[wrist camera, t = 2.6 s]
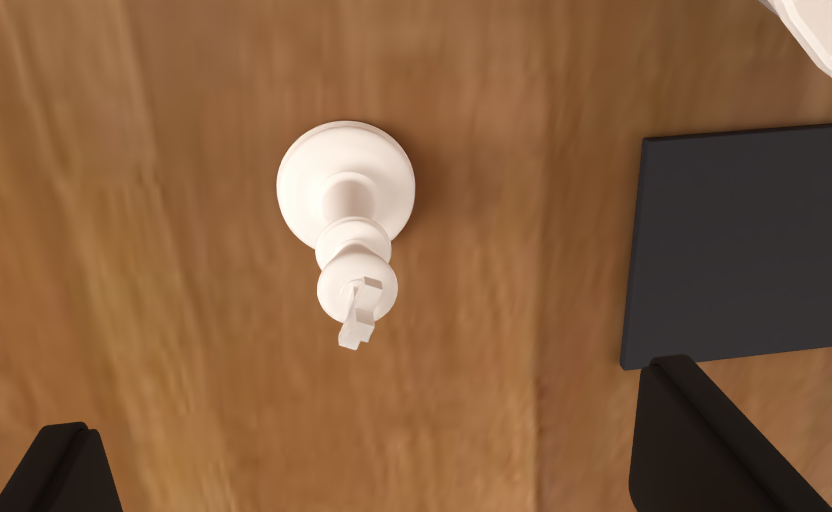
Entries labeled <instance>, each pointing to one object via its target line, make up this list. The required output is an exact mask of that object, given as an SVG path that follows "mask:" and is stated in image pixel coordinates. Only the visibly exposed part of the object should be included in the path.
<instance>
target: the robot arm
mask: <svg viewBox="0 0 832 512" xmlns="http://www.w3.org/2000/svg"><path fill="white" fill-rule="evenodd" d="M629 492H630V496H631V499H632V502H633V504H634V506H635V508H636V510H637V511H638V512H832V508H831V507H830V506H829V505H828V504H827V502H826V501H825V500H824V499H823V498H822V497H821V496H820V495H819V494H818V493H817V492H816V491H815V490H814V489H813V488H812V487H811V485H810V484H809V483H808V482H807V481H806V480H805V479H804V478H803V477H802V476H801V475H800V474H799V473H798V472H797V471H796V469H795V468H794V467H793V466H792V465H791V464H790V463H789V462H788V461H787V460H786V459H785V458H784V457H783V456H782V455H781V454H780V452H779V451H778V450H777V449H776V448H775V447H774V446H773V445H772V444H771V443H770V442H769V441H768V440H767V439H766V438H765V436H764V435H763V434H762V433H761V432H760V431H759V430H758V429H757V428H756V427H755V426H754V425H753V424H752V423H751V422H750V420H749V419H748V418H747V417H746V416H745V415H744V414H743V413H742V412H741V411H740V410H739V409H738V408H737V407H736V406H735V405H734V403H733V402H732V401H731V400H730V399H729V398H728V397H727V396H726V395H725V394H724V393H723V392H722V391H721V390H720V389H719V387H718V386H717V385H716V384H715V383H714V382H713V381H712V380H711V379H710V378H709V377H708V376H707V375H706V374H705V373H704V372H703V370H702V369H701V368H700V367H699V366H698V365H697V364H696V363H695V362H694V361H693V360H692V359H691V358H690V357H689V356H688V355H685V354H679V355H670V356H661V357H654V358H652V359H651V361H650V363H649V366H646V367H643V368H642V370H641V374H640V382H639V392H638V401H637V410H636V419H635V428H634V437H633V447H632V456H631V465H630V474H629ZM0 512H123V510H122V507H121V503H120V500H119V497H118V493H117V490H116V487H115V483H114V480H113V477H112V473H111V470H110V467H109V463H108V460H107V457H106V453H105V450H104V447H103V443H102V440H101V437H100V434H99V432H98V431H97V430H96V429H90V430H89V429H88V427H87V425H86V424H85V423H84V422H73V423H64V424H55V425H47V426H45V427H43V428H42V429H41V430H40V431H39V433H38V435H37V436H36V438H35V439H34V441H33V443H32V444H31V446H30V448H29V449H28V451H27V452H26V454H25V456H24V457H23V459H22V460H21V462H20V464H19V465H18V467H17V468H16V470H15V472H14V473H13V475H12V477H11V478H10V480H9V481H8V483H7V485H6V486H5V488H4V489H3V491H2V493H1V494H0Z"/></svg>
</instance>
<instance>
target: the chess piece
mask: <svg viewBox="0 0 832 512" xmlns="http://www.w3.org/2000/svg"><path fill="white" fill-rule="evenodd" d="M277 197H278V202H279V206H280V209H281V212H282V215H283V217H284V219H285V221H286V223H287V225H288V226H289V228H290V229H291V230H292V232H293V233H294V234H295V235H296V236H297V237H298V238H299V239H300V240H301V241H302V242H304V243H305V244H307V245H308V246H310V247H311V248H313V249H315V253H316V259H317V262H318V265H319V267H320V268H321V270H322V272H321V274H320V277H319V280H318V284H317V294H318V299H319V302H320V304H321V306H322V308H323V309H324V310H325V312H326V313H327V314H328V315H329V316H331V317H332V318H333V319H335V320H337V321H339V322H341V323H344V324H343V326H342V328H341V331H340V333H339V345H340V346H343V347H347V348H350V349H354V350H357V348H358V345H359V343H360V341H364V342H367V343H368V341H369V339H370V336H371V334H372V332H373V330H374V327H375V325H374V321H376V320H378V319H380V318H381V317H383V316H384V315H385V314H386V313H387V312H388V311H389V310H390V309H391V307H392V306H393V304H394V302H395V300H396V297H397V292H398V284H397V279H396V276H395V273H394V271H393V270H392V268H391V267H390V265H389V264H388V263H389V261H390V257H391V243H390V241H392V240H393V239H394V238H395V237H396V236H397V235H398V234H399V233H400V231H401V230H402V229H403V227H404V226H405V224H406V223H407V221H408V219H409V217H410V214H411V212H412V209H413V205H414V199H415V178H414V172H413V169H412V166H411V163H410V161H409V159H408V157H407V155H406V153H405V152H404V150H403V149H402V147H401V146H400V145H399V144H398V143H397V142H396V141H395V140H394V139H393V138H392V137H391V136H390V135H388V134H387V133H385V132H384V131H382V130H380V129H378V128H376V127H374V126H372V125H369V124H366V123H362V122H356V121H335V122H330V123H326V124H323V125H320V126H317V127H315V128H313V129H311V130H309V131H308V132H306V133H305V134H303V135H302V136H301V137H300V138H298V139H297V140H296V141H295V142H294V143H293V145H292V146H291V147H290V148H289V150H288V151H287V153H286V154H285V156H284V158H283V160H282V162H281V165H280V168H279V171H278V176H277Z"/></svg>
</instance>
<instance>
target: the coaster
mask: <svg viewBox="0 0 832 512" xmlns="http://www.w3.org/2000/svg"><path fill="white" fill-rule="evenodd" d="M824 347H832V124H820V125H807V126H794V127H782V128H769V129H757V130H744V131H731V132H719V133H706V134H693V135H681V136H668V137H655V138H644V139H643V144H642V154H641V163H640V173H639V183H638V192H637V202H636V212H635V221H634V231H633V241H632V250H631V260H630V270H629V279H628V289H627V299H626V308H625V318H624V328H623V337H622V347H621V357H620V366H621V367H622V368H623V370H634V369H642V368H643V367H646V366H649V363H650V361H651V359H652V358H654V357H661V356H670V355H679V354H685V355H688V356H689V357H690V358H691V359H692V360H693V361H694V362H703V361H712V360H720V359H729V358H738V357H746V356H755V355H764V354H772V353H781V352H790V351H798V350H807V349H815V348H824Z"/></svg>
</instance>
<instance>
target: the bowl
mask: <svg viewBox="0 0 832 512" xmlns="http://www.w3.org/2000/svg"><path fill="white" fill-rule="evenodd" d="M758 1H759V2H760V3H762V4H763V5H764V6H766V7H767V8H768V9H769V10H771V11H772V12H773V13H775V14H776V15H777V16H779V17H780V18H781V20H782V22H783V23H784V24H785V25H786V27H787V28H788V29H789V31H790V32H791V33H792V35H793V36H794V37H795V38H796V40H797V41H798V42H799V44H800V45H801V46H802V47H803V49H804V50H805V51H806V53H807V54H808V55H809V56H810V58H811V59H812V60H813V62H814V63H815V64H816V65H817V67H818V68H820V69H821V70H822V71H824V72H825V73H826V74H828V75H829V76H830V77H832V0H758Z"/></svg>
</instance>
